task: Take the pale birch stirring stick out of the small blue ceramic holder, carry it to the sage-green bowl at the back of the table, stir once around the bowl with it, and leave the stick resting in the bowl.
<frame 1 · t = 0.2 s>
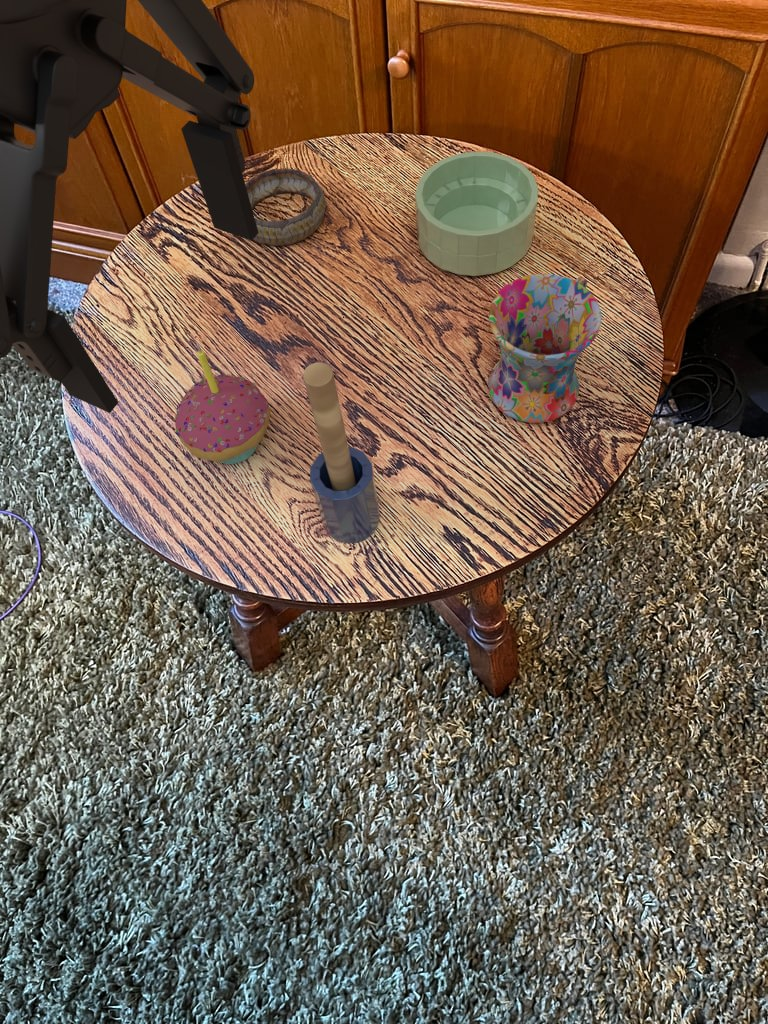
hand: (169, 310, 43), 29 cm above the table, tool pointing down, fingers open, 13 cm apart
bowl: (474, 237, 84), on the table
stick: (351, 515, 68), resting on holder
holder: (351, 518, 69), on the table
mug: (539, 383, 74), on the table
cupcake: (235, 445, 73), on the table
decorative ring: (284, 219, 88), on the table
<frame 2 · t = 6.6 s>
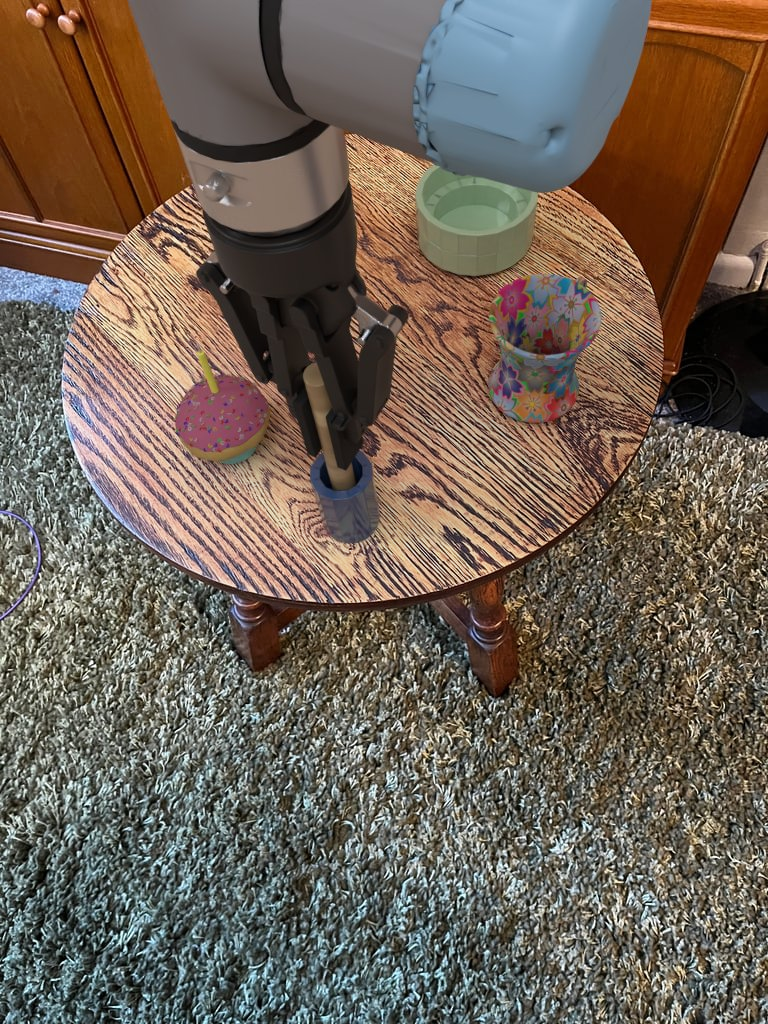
hand: (335, 448, 58), 11 cm above the table, tool pointing down, fingers closed on stick, 2 cm apart
stick: (351, 515, 68), resting on holder, touching gripper
everything else where it was.
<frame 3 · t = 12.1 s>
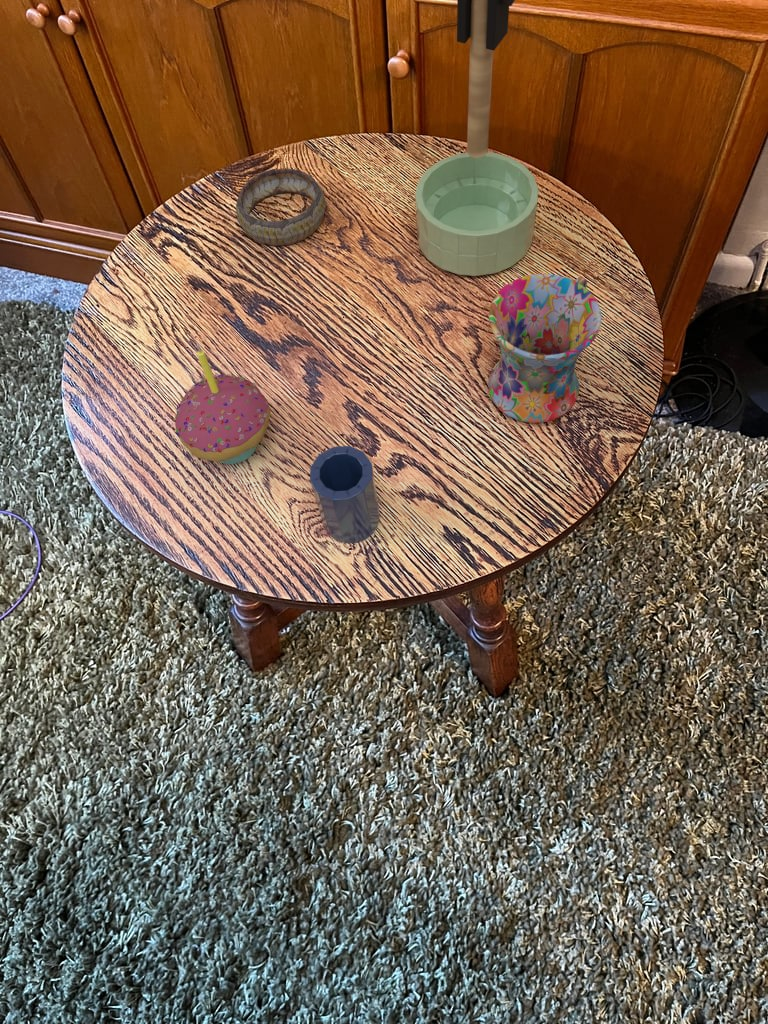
hand: (482, 36, 65), 22 cm above the table, tool pointing down, fingers closed on stick, 2 cm apart
stick: (477, 151, 75), point 11 cm above the table, touching gripper
everything else where it was.
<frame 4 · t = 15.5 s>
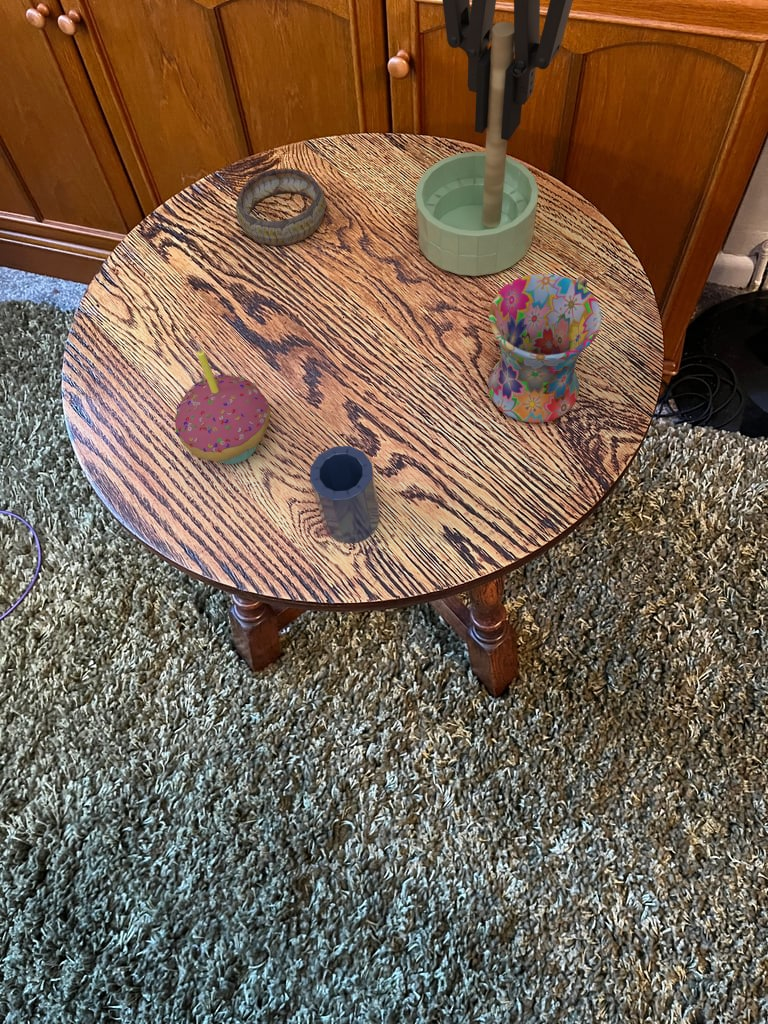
hand: (497, 126, 72), 13 cm above the table, tool pointing down, fingers closed on stick, 2 cm apart
stick: (491, 220, 82), point 2 cm above the table, touching gripper
everything else where it was.
when the fingers open (12 cm above the table, at t = 17.8 s): stick stays where it is, resting on bowl.
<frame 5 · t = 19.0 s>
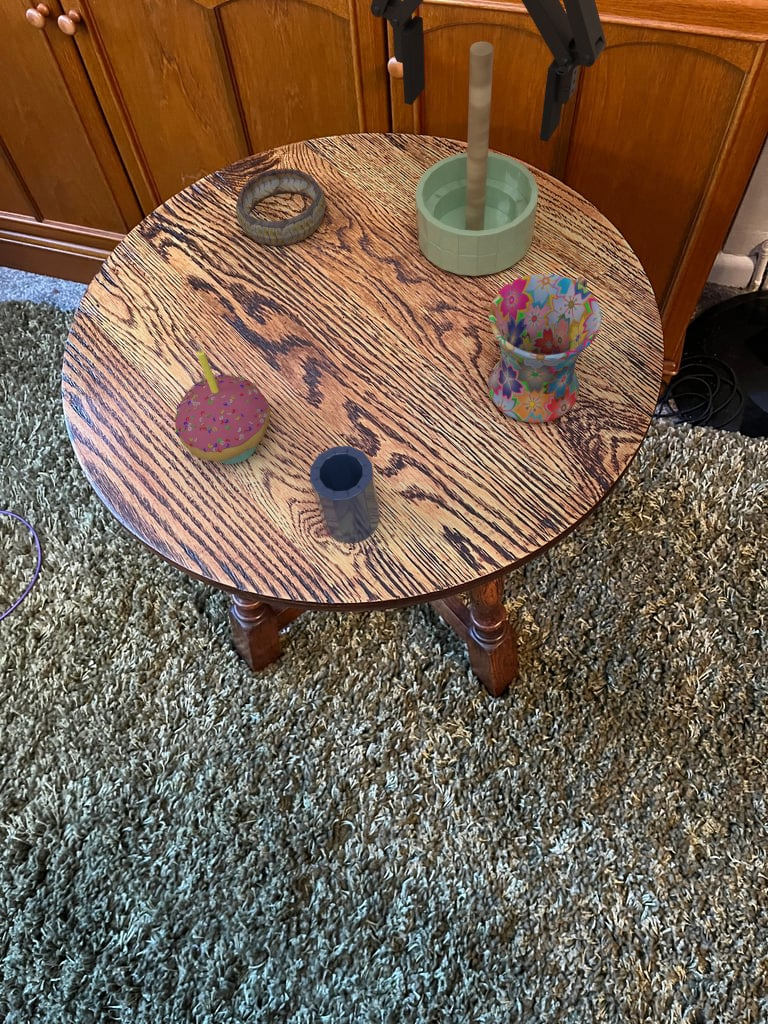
hand: (480, 113, 71), 15 cm above the table, tool pointing down, fingers open, 13 cm apart
stick: (474, 233, 83), point 1 cm above the table, touching bowl
everything else where it was.
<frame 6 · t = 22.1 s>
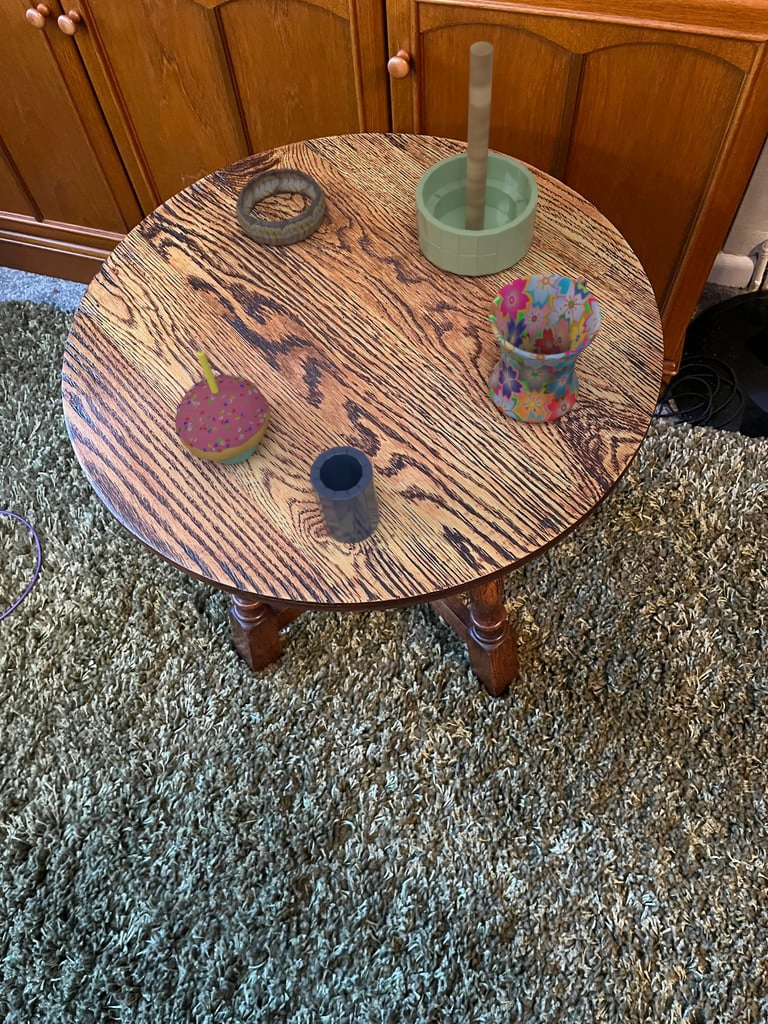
nothing on the table moved.
at the end: stick inside the target area in the bowl (0.1 cm from its centre), point 0.6 cm above the bowl's base; stick moved 36.4 cm from its start; the gripper is holding nothing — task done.
